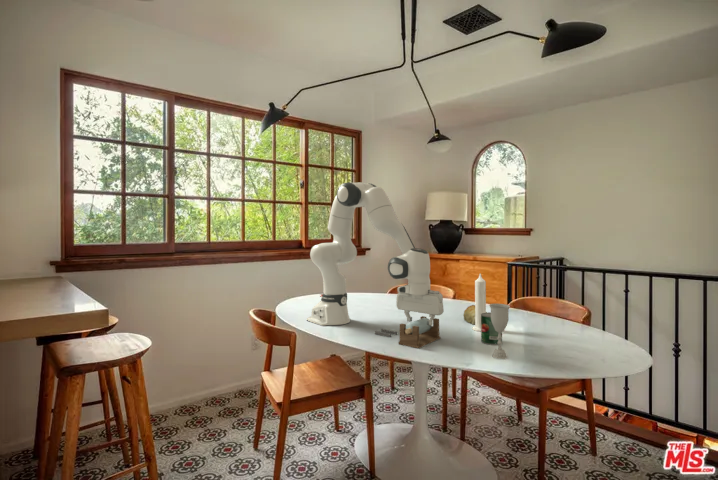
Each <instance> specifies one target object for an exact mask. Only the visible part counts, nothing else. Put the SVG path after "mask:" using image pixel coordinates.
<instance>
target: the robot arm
mask: <svg viewBox="0 0 718 480" xmlns="http://www.w3.org/2000/svg"><path fill="white" fill-rule="evenodd" d="M363 207H364V208H365V211H366V213H367V215H368V218H369V221H370V224H371V225H372V226H373V228H374V229H375V230H376V231H378V232H380V233H383V234H385V235H388V236H389V237H391V238H392V239H394V241H395V242H396V244H397V246H398V248H399V250H400V252H401V254H400V255H398V256H393V257H392V258H391V259H389V261H388V264H387V271H388V274H389V276H390V277H391V278H392V279H395V280H404V279H407V284H404V285H401V286H399V287H397V289H396V290H397V294H396V303H395V304H396V305H395V306H396V308H397V310H400V311H403V312H404V315H405V317H406V321H407V322H408V323H411V322H413V317H412V316H411V314H410V313H411V312H413V313H419V314H427V315H429V318H428V319H429V320H428V321H427V325H430V326H431V325H432V326H433V319H434V318H436V316H441V315H443V313H444V300H443V299H444V297H443V296H444V295H443V294H442V293H441V292H440V291H438V290H432V289H431V279H430V278H431V277H430V275H431V260H430V254H429V251H428V250H426V249H424V248H417V247H416V246H415V245H414V243H413V241H412V239H411V237H410V234H409V233H408V230H407V229H406V227H405V226H404V225H403V223H402V221H400V219H399V218H398V216H397V214H396V211H395V210H394V208H393V205H392V202H391V200H390V199H389V196H388V195H387V193H386V191H385V190H384V189H383V188H382V187H381V186H377V185H375V184H373V183H367V182H362V181H361V182H348V181H347V182H343V183H342V184H340V185H339V186H338V187H337V190H336V195H335V197H334V200H333V202H332V205H331V209H330V214H329V218H328V224H327V231H328V232H329V233H330V234H331V235H332V236H333V237H332V238H333V240H332V242H321V243H319V244H315V245H313V246H312V247H311V249H310V252H309V256H310V257H309V258H310V260H311V262H312V263H313V264H314V265H315V266H316V267H317V268H318V269H319V271H320V274H321V277H322V285H323V293H321V294H320V295H319V298H320V297H321V299H320V301H319V302H318V303H316V304H315V305H314V306H313V307H312V309H311V316H309V317H307V318H306V321H307V320H308V322H311V323H314V324H316V325H318V326H323V327H324V326H339V325H341V326H342V325H346V324H348V323H350V322H351V320H350V316H349V310H348V293H347V279H346V278H347V277H346V276H345V275H344V274H343V273H342V272H340V270H339V268H338V265H347V264H349V263H351V262H353V261H355V260H356V259H357V255H358V250H357V247H356V246H355V244H354V243H353V241H352V237H351V231H352V225H353V220H354V216H355V210H356V208H363Z"/></svg>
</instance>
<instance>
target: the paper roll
mask: <svg viewBox="0 0 718 480" xmlns="http://www.w3.org/2000/svg"><path fill="white" fill-rule="evenodd" d="M429 319H430V318H427V317H426V318H422V319H417V320H415V321H414V320H413V321H412V322H408V323H407V324H406V323H405V324H406V330H405V334H413V333H412V327H413V326H419V335H420V334H422V333H424V332H427V331H429V330H430V329H431V327H432V326H433V324H432V325H431V326H430V325H427V321H428V320H429Z"/></svg>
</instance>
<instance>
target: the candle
mask: <svg viewBox="0 0 718 480" xmlns="http://www.w3.org/2000/svg"><path fill="white" fill-rule="evenodd" d="M486 284H487V282H486V280H485V279H484V278H483V277H482V273H479V275H478V278H477V279H476V280H474V303H475V325H473V327H472V331H475V332H480V333H481V314H482V313H486V312H487V301H486V300H487V296H486V295H487V287H486V286H487V285H486Z"/></svg>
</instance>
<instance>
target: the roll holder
mask: <svg viewBox="0 0 718 480" xmlns="http://www.w3.org/2000/svg"><path fill="white" fill-rule="evenodd" d="M422 318H427V316H423V315H422V316H420V319H422ZM398 326H399V341H398V345H402V346H405V347H410V348H415V349H420V348H422V347H424V346H427V345H429V344H431V343H433V342H435V341H438V340H440V339H441V335H440V319H439V318H436V317H434V319H433V320H432V327H431V329H430V330H429V331H427V332H424V333H422V334H420V335H419V326H413V327H412V333H413V334H405V330H406V323H399V325H398Z"/></svg>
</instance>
